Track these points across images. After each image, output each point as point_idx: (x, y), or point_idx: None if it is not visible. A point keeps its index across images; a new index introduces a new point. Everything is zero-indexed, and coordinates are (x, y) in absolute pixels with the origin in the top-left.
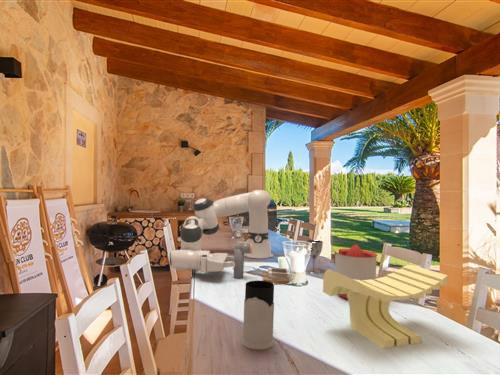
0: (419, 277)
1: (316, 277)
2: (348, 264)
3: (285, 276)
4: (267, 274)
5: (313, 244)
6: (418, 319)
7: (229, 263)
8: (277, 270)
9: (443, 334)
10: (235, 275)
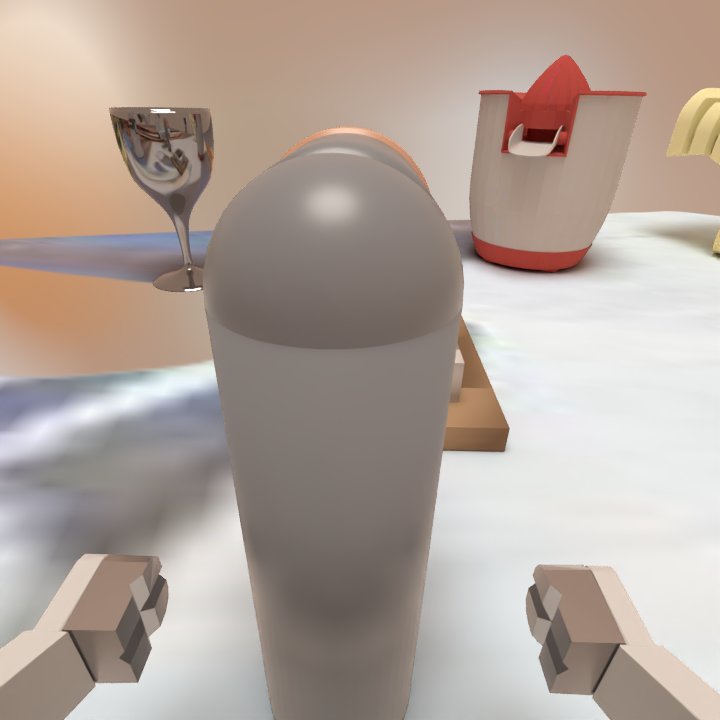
0: None
1: None
2: (631, 132)
3: None
4: None
5: (204, 124)
6: (633, 229)
7: (699, 697)
8: None
9: (696, 227)
10: (401, 704)
